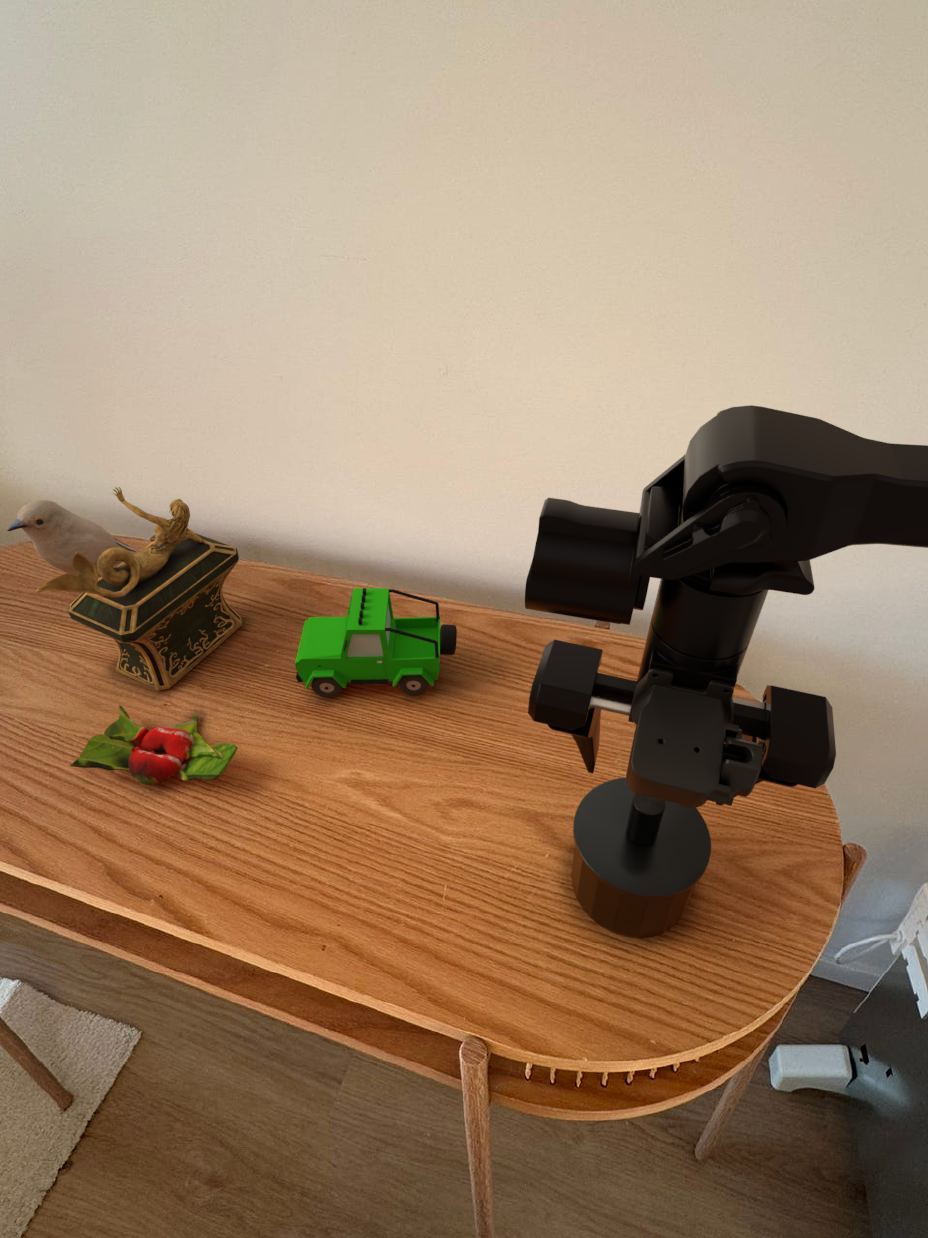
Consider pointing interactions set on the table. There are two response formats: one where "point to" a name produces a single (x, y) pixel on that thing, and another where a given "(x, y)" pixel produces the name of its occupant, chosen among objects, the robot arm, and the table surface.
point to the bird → (64, 535)
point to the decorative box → (156, 598)
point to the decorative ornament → (156, 751)
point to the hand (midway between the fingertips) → (654, 784)
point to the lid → (640, 841)
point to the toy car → (373, 646)
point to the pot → (625, 905)
